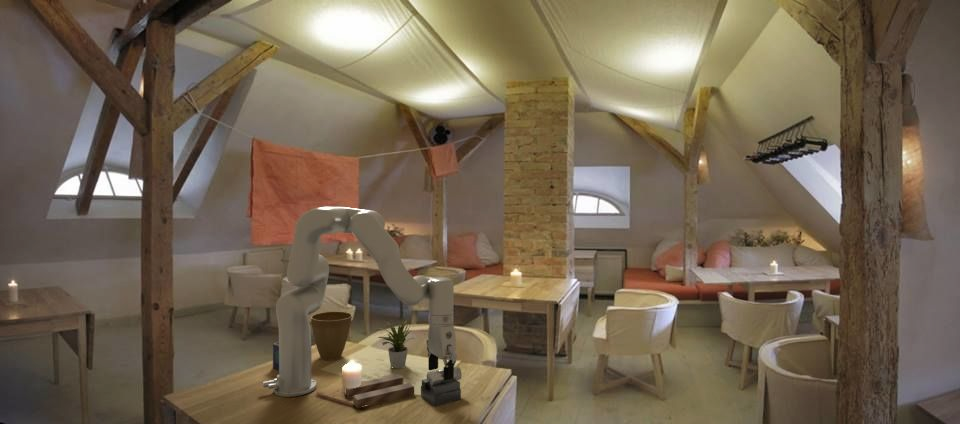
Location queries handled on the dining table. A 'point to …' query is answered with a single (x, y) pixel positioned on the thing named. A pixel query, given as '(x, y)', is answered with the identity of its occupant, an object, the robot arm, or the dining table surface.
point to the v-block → (441, 392)
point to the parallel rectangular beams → (380, 391)
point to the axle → (442, 376)
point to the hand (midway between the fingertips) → (440, 374)
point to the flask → (276, 356)
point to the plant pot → (331, 333)
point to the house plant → (397, 346)
